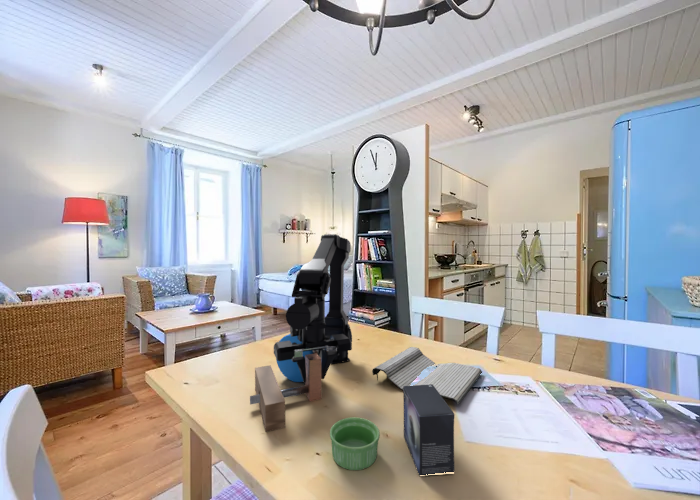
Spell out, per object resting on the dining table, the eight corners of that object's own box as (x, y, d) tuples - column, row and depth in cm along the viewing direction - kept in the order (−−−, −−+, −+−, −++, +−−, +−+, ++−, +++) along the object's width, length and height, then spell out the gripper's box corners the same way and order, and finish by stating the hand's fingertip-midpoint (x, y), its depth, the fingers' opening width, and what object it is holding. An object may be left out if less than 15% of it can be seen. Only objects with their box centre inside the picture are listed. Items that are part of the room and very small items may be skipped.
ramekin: (383, 472, 51) (383, 446, 51) (330, 475, 50) (330, 449, 50) (375, 437, 60) (375, 415, 60) (329, 440, 59) (329, 418, 59)
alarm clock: (286, 366, 92) (328, 382, 85) (272, 374, 86) (315, 391, 79) (289, 324, 91) (332, 336, 84) (275, 329, 86) (319, 343, 79)
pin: (316, 391, 78) (316, 353, 78) (321, 398, 74) (321, 358, 74) (249, 405, 72) (249, 363, 71) (251, 414, 68) (250, 369, 68)
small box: (401, 436, 60) (401, 384, 60) (433, 435, 61) (433, 383, 60) (417, 478, 49) (417, 414, 49) (456, 475, 50) (456, 412, 50)
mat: (458, 412, 70) (458, 391, 69) (371, 383, 84) (371, 366, 83) (483, 376, 88) (483, 360, 88) (408, 358, 102) (408, 344, 102)
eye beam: (270, 385, 81) (270, 365, 81) (285, 427, 63) (285, 401, 63) (255, 388, 80) (255, 367, 80) (265, 432, 61) (265, 405, 61)
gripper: (337, 308, 86) (337, 362, 87) (270, 314, 79) (270, 373, 79) (352, 317, 76) (352, 378, 76) (277, 325, 69) (277, 393, 69)
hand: (313, 380), depth 76 cm, fingers open, 4 cm apart
